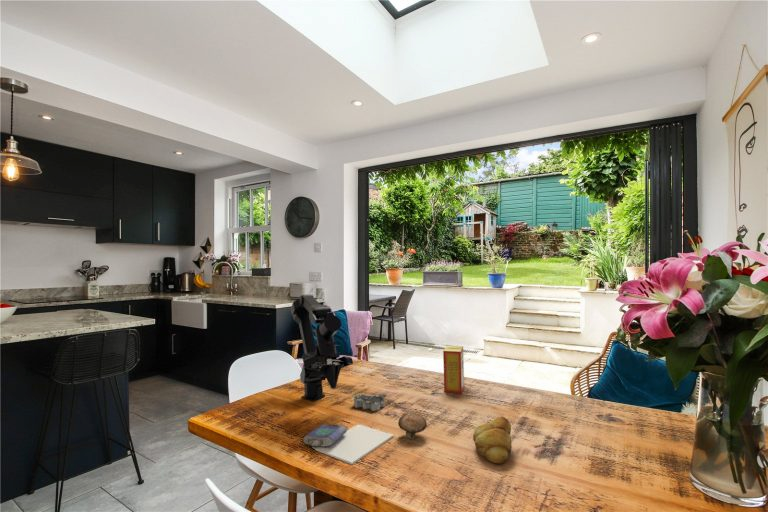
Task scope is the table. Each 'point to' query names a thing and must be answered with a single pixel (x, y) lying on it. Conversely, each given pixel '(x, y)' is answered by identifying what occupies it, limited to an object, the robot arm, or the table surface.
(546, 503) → the table surface
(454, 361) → the baking soda box
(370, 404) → the egg carton
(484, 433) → the bread roll
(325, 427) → the flask
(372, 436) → the serving board
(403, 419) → the mushroom
